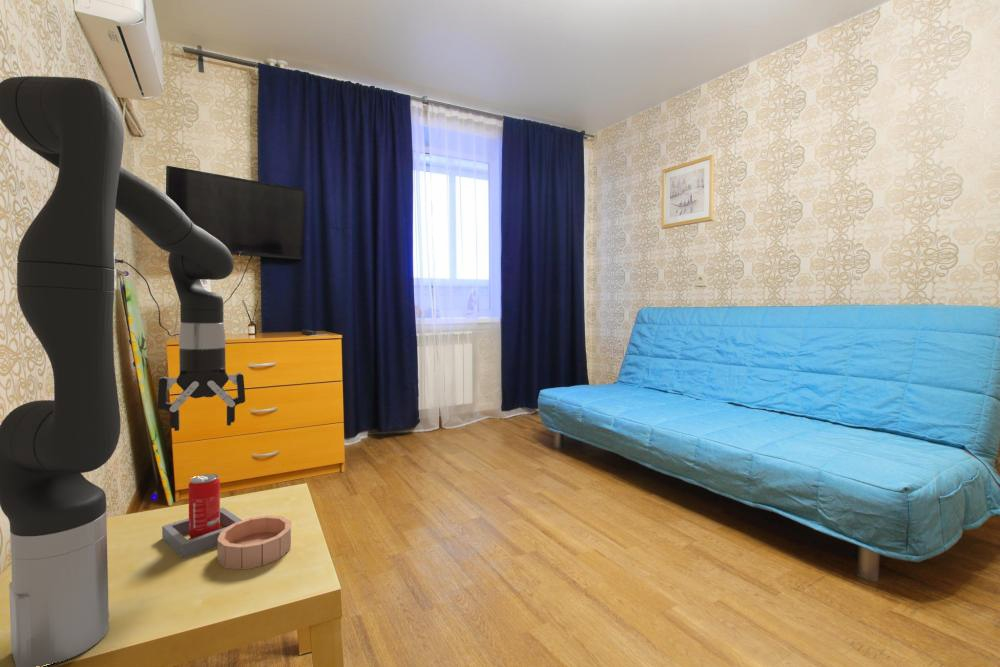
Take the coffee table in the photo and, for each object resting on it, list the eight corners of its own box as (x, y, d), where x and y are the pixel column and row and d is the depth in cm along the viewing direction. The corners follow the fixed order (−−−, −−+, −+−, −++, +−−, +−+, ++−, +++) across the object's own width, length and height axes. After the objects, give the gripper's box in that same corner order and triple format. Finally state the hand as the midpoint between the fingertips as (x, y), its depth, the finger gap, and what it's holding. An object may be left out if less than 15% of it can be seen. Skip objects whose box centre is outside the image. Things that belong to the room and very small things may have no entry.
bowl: (235, 577, 76) (235, 554, 76) (207, 553, 84) (207, 532, 83) (302, 548, 86) (302, 528, 86) (272, 528, 93) (272, 510, 93)
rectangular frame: (182, 558, 82) (182, 544, 82) (162, 538, 88) (162, 526, 88) (246, 534, 90) (246, 523, 90) (223, 518, 97) (223, 507, 97)
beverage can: (194, 546, 86) (194, 485, 85) (185, 537, 89) (184, 478, 88) (224, 536, 90) (224, 477, 89) (213, 527, 93) (213, 471, 92)
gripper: (155, 348, 80) (156, 437, 81) (245, 346, 88) (246, 427, 89) (159, 345, 87) (160, 427, 87) (243, 343, 94) (244, 419, 95)
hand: (203, 427), depth 88 cm, fingers open, 8 cm apart
